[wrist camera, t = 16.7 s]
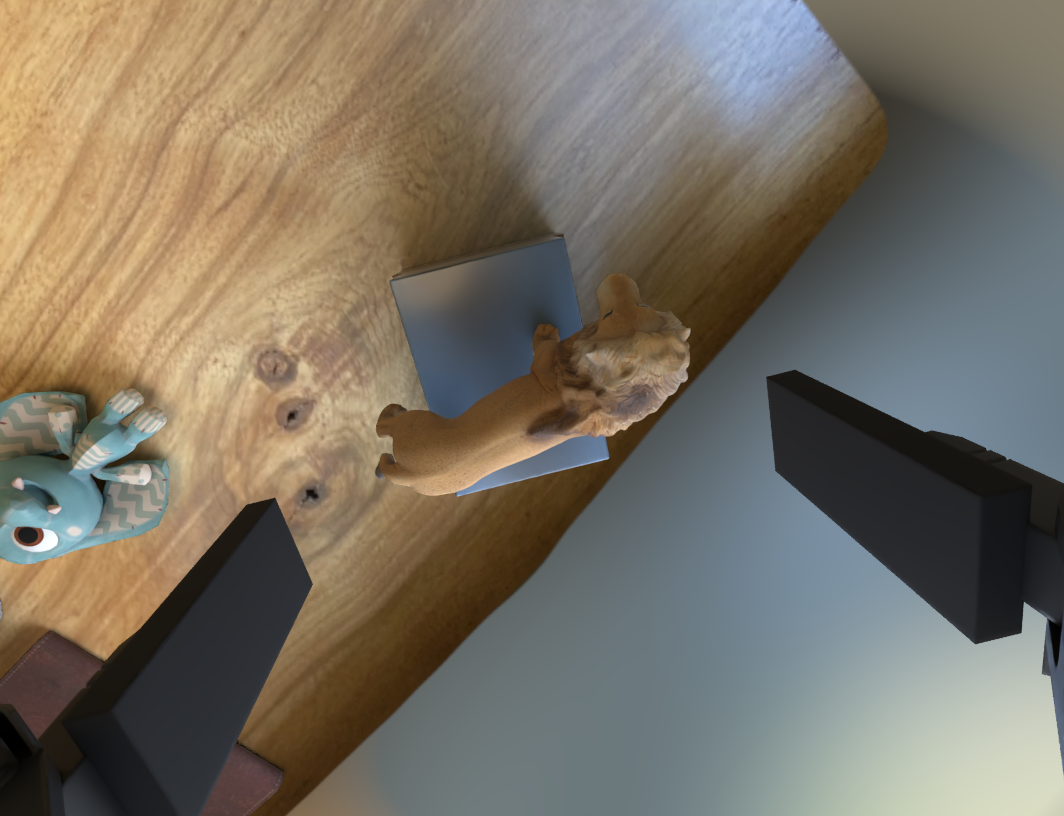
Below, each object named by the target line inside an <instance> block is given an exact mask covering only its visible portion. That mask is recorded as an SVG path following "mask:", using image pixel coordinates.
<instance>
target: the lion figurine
mask: <svg viewBox="0 0 1064 816" xmlns="http://www.w3.org/2000/svg"><path fill="white" fill-rule="evenodd" d="M597 301H598V304H599V307H600V315H599V318H598V319H597V320H596V321H595V322H591V323H590V324H588V325H586V326H585V327H584V328H583V329H581V330H580V331H577V332H576V333H574V334H573V335H571V336H569V337H568V338H566V339H565V340H562V341H560V337H559V335H558V332H559V330H558V329H557V328H554V327H553V326H552V325H551V324H540V325H538V327H537V329H536V331H535V333H534V336H533V339H532V348H533V355H534V359H533V362H532V364H531V367H530V371H531V373H530V374H527V375H524V376H521V377H519V378H516V379H514V380H512V381H510V382H508V383H507V384H505V385H503V386H502V387H500V388H498V389H497V390H495V391H493V392H492V393H490V394H488V395H486V396H485V397H483V398H481V399H480V400H478V401H477V402H476V403H474V404H473V405H472V406H471V407H470V408H469V409H468V410H466V411H465V412H464V413H463V414H461V415H460V416H458V417H456V418H452V419H449V418H445V417H442V416H440V415H438V414H436V413H434V412H431V411H424V410H411V411H407V409H405V408H403V407H402V406H401V405H399V404H390V405H388V406H387V407H385V408H384V409H383V411H382V412H381V414H380V416H379V419H378V422H377V425H376V432H377V435H378V436H379V437H380V438H385V437H392V438H393V454H394V457H395V459H396V461H397V462H396V463H395V461H394V458H393V456H392V455H391V454H388V453H384V454H382V455H381V457H380V461H379V464H378V466H377V468H376V471H375V474H376V476H377V477H378V478H379V479H382V478H383V477H385V478H387V479H388V480H389V481H391V482H393V483H395V484H398V485H406V486H410V487H411V488H412V489H414V490H415V491H417V492H419V493H421V494H425V495H441V494H447V493H454V492H458V491H461V490H463V489H466V488H468V487H470V486H472V485H473V484H474V483H476V482H477V481H478V480H480V479H482V478H483V477H485V476H487V475H489V474H490V473H492V472H494V471H497V470H499V469H501V468H504V467H506V466H509V465H512V464H514V463H517V462H519V461H522V460H524V459H527V458H530V457H532V456H535V455H537V454H539V453H541V452H543V451H545V450H547V449H549V448H551V447H553V446H555V445H557V444H560V443H562V442H564V441H566V440H567V439H569V438H573V437H578V436H585V435H589V436H590V437H592V438H596V437H598V436H612V435H614V434H615V433H616V432H617V431H618V430H620V429H621V430H626V429H627V428H628V426H630V425H631V424H632V423H633V422H635V421H640V420H641V419H643V418H644V417H645V416H647V415H648V414H649V413H653V412H655V411H657V410H658V408H659V407H660V406H661V405H662V404H663V402H664V401H665V400H666V399H667V396H669V395H672V394H674V393H675V392H676V390H677V388H678V386H679V385H680V383H681V382H685V381H686V380H687V379H688V374H687V372H686V368H687V367H688V365H689V361H690V354H689V343H688V342H687V341H685V340H686V339H687V338H688V336H689V335H690V330H691V329H690V328H686V327H684V326H682V323H681V322H680V321H679V320H678V319H677V318H676V317H675V316H674V315H673V313H672V312H671V311H668V312H659V311H654V309H653V308H652V307H650V306H648V305H645V304H644V302H643V301H642V300H641V298H640V295H639V290H638V287H637V285H636V283H635V282H634V280H632V279H631V278H629V277H628V276H627V275H625V274H623V273H613V274H610V275H608V276H607V277H606V278H605V279H604V281H603V283H601V284H600V285H599V287H598V289H597Z"/></svg>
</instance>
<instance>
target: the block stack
mask: <svg viewBox="0 0 1064 816" xmlns="http://www.w3.org/2000/svg"><path fill="white" fill-rule="evenodd" d="M392 277H393V279H392V280H390V282H389V283H390V286H391V289H392V292H393V295H394V299H395V302H396V305H397V308H398V311H399V315H400V318H401V321H402V324H403V327H404V331H405V334H406V337H407V340H408V343H409V347H410V350H411V353H412V356H413V359H414V363H415V366H416V369H417V372H418V376H419V379H420V382H421V385H422V388H423V392H424V395H425V398H426V401H427V404H428V408H429V411H431V412H434V413H436V414H438V415H440V416H442V417H445V418H449V419H452V418H456V417H458V416H460V415H461V414H463V413H464V412H465V411H466V410H468V409H469V408H470V407H471V406H472V405H473V404H474V403H476V402H477V401H478V400H480V399H481V398H483V397H485V396H486V395H488V394H490V393H492V392H493V391H495V390H497V389H498V388H500V387H502V386H503V385H505V384H507V383H508V382H510V381H512V380H514V379H516V378H519V377H521V376H524V375H527V374H530V373H531V371H530V367H531V364H532V362H533V359H534V355H533V348H532V339H533V336H534V333H535V331H536V329H537V327H538V325H540V324H551V325H552V326H553V327H554V328H557V329H558V330H559V332H558V335H559V337H560V341H562V340H565V339H566V338H568V337H569V336H571V335H573V334H574V333H576V332H577V331H580V330H581V329H583V326H582V321H581V316H580V311H579V307H578V302H577V297H576V292H575V287H574V282H573V277H572V272H571V268H570V263H569V258H568V253H567V248H566V243H565V239H564V235H563V234H561V233H549V234H545V235H541V236H537V237H533V238H529V239H525V240H521V241H517V242H513V243H509V244H505V245H501V246H497V247H493V248H489V249H485V250H481V251H477V252H473V253H468V254H464V255H460V256H456V257H452V258H448V259H444V260H440V261H436V262H432V263H428V264H424V265H420V266H416V267H412V268H408V269H404V270H403V271H401V272H399V273H397V274H395V275H393V276H392ZM608 458H609V452H608V448H607V443H606V438H605V436H598V437H596V438H592V437H590V436H589V435H585V436H578V437H573V438H569V439H567V440H566V441H564V442H562V443H560V444H557V445H555V446H553V447H551V448H549V449H547V450H545V451H543V452H541V453H539V454H537V455H535V456H532V457H530V458H527V459H524V460H522V461H519V462H517V463H514V464H512V465H509V466H506V467H504V468H501V469H499V470H497V471H494V472H492V473H490V474H489V475H487V476H485V477H483V478H482V479H480V480H478V481H477V482H476V483H474V484H473V485H472V486H470V487H468V488H466V489H463V490H461V491H458V492H455V494H456V496H460V495H464V494H468V493H472V492H476V491H480V490H484V489H488V488H492V487H496V486H500V485H504V484H508V483H512V482H517V481H521V480H525V479H529V478H533V477H537V476H541V475H545V474H549V473H553V472H557V471H561V470H565V469H569V468H573V467H577V466H581V465H585V464H589V463H593V462H597V461H601V460H605V459H608Z"/></svg>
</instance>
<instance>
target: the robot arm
mask: <svg viewBox="0 0 1064 816" xmlns="http://www.w3.org/2000/svg"><path fill="white" fill-rule="evenodd" d="M766 378H767V389H768V398H769V409H770V419H771V429H772V439H773V450H774V460H775V471H776V472H777V473H779V474H780V475H781V476H782V477H783V478H784V479H785V480H787V481H788V482H789V483H790V484H791V485H792V486H794V487H795V488H796V489H798V491H799V492H800V493H802V494H803V495H804V496H805V497H806V498H807V499H809V500H810V501H811V502H812V503H813V504H814V505H815V506H817V507H818V508H819V509H820V510H821V511H822V512H824V513H825V514H826V515H827V516H828V517H829V518H831V519H832V520H833V521H834V522H835V523H836V524H837V525H839V526H840V527H841V528H842V529H843V530H844V531H846V532H847V533H848V534H849V535H850V536H851V537H852V538H853V539H855V540H856V541H857V542H858V543H859V544H860V545H862V546H863V547H864V548H865V549H866V550H867V551H868V552H870V553H871V554H872V555H873V556H874V557H875V558H877V559H878V560H879V561H880V562H881V563H882V564H883V565H885V566H886V567H887V568H888V569H889V570H890V571H891V572H893V573H894V574H895V575H896V576H897V577H898V578H900V579H901V580H902V581H903V582H904V583H906V585H908V586H909V587H910V588H911V589H912V590H914V591H915V592H916V593H917V594H918V595H919V596H920V597H922V598H923V599H924V600H925V601H926V602H927V603H928V604H930V605H931V606H932V607H933V608H934V609H935V610H936V611H938V612H939V613H940V614H941V615H942V616H943V617H944V618H946V619H947V620H948V621H949V622H950V623H952V624H953V625H954V626H955V627H956V628H957V629H958V630H959V631H961V632H962V633H963V634H964V635H965V636H966V637H968V638H969V639H970V640H971V641H972V642H973V643H974V644H978V643H982V642H987V641H991V640H995V639H999V638H1003V637H1007V636H1011V635H1015V634H1019V633H1021V631H1022V619H1023V605H1024V602H1025V603H1027V604H1028V605H1030V606H1031V607H1032V608H1034V609H1035V610H1037V611H1038V612H1039V613H1041V614H1042V615H1044V616H1045V617H1046V618H1047V625H1046V635H1045V646H1044V657H1043V667H1042V674H1044V675H1048V676H1051V683H1052V690H1053V697H1054V705H1055V713H1056V721H1057V728H1058V735H1059V743H1060V750H1061V757H1062V766H1063V773H1064V483H1062V482H1059V481H1057V480H1055V479H1053V478H1051V477H1048V476H1046V475H1044V474H1042V473H1040V472H1037V471H1035V470H1033V469H1031V468H1028V467H1026V466H1024V465H1022V464H1019V463H1018V462H1015V461H1013V460H1011V459H1009V460H1006V457H1004V456H1002V455H1000V454H998V453H996V452H993V451H991V450H989V451H987V450H986V448H985V447H982V446H980V445H978V444H976V443H974V442H971V441H969V440H967V439H965V438H963V437H959V436H954V435H949V434H945V433H941V432H936V431H929V432H923V431H921V430H919V429H917V428H915V427H912V426H911V425H909V424H906V423H904V422H902V421H900V420H898V419H896V418H894V417H892V416H890V415H888V414H886V413H884V412H881V411H879V410H877V409H875V408H873V407H871V406H869V405H867V404H865V403H863V402H861V401H859V400H857V399H855V398H853V397H850V396H848V395H846V394H844V393H842V392H840V391H838V390H836V389H834V388H832V387H830V386H828V385H826V384H823V383H821V382H819V381H817V380H815V379H813V378H811V377H809V376H807V375H805V374H803V373H801V372H799V371H797V370H792V371H788V372H784V373H780V374H776V375H773V376H768V377H766ZM312 585H313V583H312V581H311V579H310V577H309V574H308V572H307V570H306V567H305V565H304V563H303V560H302V558H301V556H300V554H299V551H298V549H297V547H296V544H295V542H294V540H293V538H292V535H291V533H290V531H289V528H288V526H287V524H286V522H285V519H284V517H283V515H282V512H281V510H280V508H279V505H278V503H277V501H276V499H275V498H272V499H268V500H264V501H260V502H256V503H252V504H248V505H246V506H245V507H244V508H243V510H242V511H241V512H240V513H239V514H238V515H237V517H236V518H235V519H234V520H233V521H232V522H231V524H230V525H229V526H228V527H227V528H226V529H225V531H224V532H223V533H222V534H221V535H220V536H219V538H218V539H217V540H216V541H215V542H214V543H213V545H212V546H211V547H210V548H209V549H208V550H207V552H206V553H205V554H204V555H203V556H202V557H201V558H200V560H199V561H198V562H197V563H196V564H195V565H194V567H193V568H192V569H191V570H190V571H189V572H188V574H187V575H186V576H185V577H184V578H183V579H182V581H181V582H180V583H179V584H178V585H177V586H176V588H175V589H174V590H173V591H172V592H171V593H170V595H169V596H168V597H167V598H166V599H165V600H164V602H163V603H162V604H161V605H160V606H159V607H158V609H157V610H156V611H155V612H154V613H153V614H152V616H151V617H150V618H149V619H148V620H147V621H146V623H145V624H144V625H143V626H142V627H141V628H140V629H139V630H138V631H137V632H136V633H134V634H133V635H132V636H131V637H129V638H128V639H127V640H126V641H124V642H123V643H122V644H121V645H119V647H118V648H117V649H116V650H115V651H114V652H113V653H112V655H111V656H110V657H109V658H108V659H107V660H106V661H105V663H104V664H103V665H102V666H101V670H98V671H97V672H96V673H95V674H94V675H93V676H92V677H91V679H90V680H89V681H88V682H87V683H86V688H82V689H81V690H80V691H79V692H78V693H77V695H76V696H75V697H74V698H73V699H72V700H71V701H70V703H69V704H68V705H67V706H66V707H65V708H64V709H63V711H62V712H61V713H60V714H59V715H58V716H57V718H56V719H55V720H54V721H53V722H52V723H51V724H50V726H49V727H48V728H47V729H46V730H45V731H44V732H43V734H42V735H41V736H40V737H39V738H38V739H37V738H36V737H35V736H34V734H33V733H32V731H31V730H30V728H29V727H28V726H27V724H26V723H25V721H24V720H23V719H22V717H21V716H20V714H19V713H18V712H17V710H16V709H15V708H14V706H13V705H12V704H0V816H200V815H201V813H202V811H203V809H204V807H205V805H206V803H207V801H208V799H209V796H210V794H211V792H212V790H213V788H214V786H215V784H216V782H217V780H218V778H219V776H220V774H221V772H222V770H223V768H224V766H225V764H226V762H227V760H228V757H229V755H230V753H231V751H232V749H233V747H234V745H235V743H236V741H237V739H238V737H239V735H240V733H241V731H242V729H243V727H244V725H245V723H246V720H247V718H248V716H249V714H250V712H251V710H252V708H253V706H254V704H255V702H256V700H257V698H258V696H259V694H260V692H261V690H262V688H263V686H264V684H265V681H266V679H267V677H268V675H269V673H270V671H271V669H272V667H273V665H274V663H275V661H276V659H277V657H278V655H279V653H280V651H281V649H282V647H283V644H284V642H285V640H286V638H287V636H288V634H289V632H290V630H291V628H292V626H293V624H294V622H295V620H296V618H297V616H298V614H299V612H300V610H301V608H302V605H303V603H304V601H305V599H306V597H307V595H308V593H309V591H310V589H311V587H312Z"/></svg>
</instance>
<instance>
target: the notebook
mask: <svg viewBox="0 0 1064 816" xmlns="http://www.w3.org/2000/svg"><path fill="white" fill-rule="evenodd" d="M103 664H104V663H103V662H102V661H100V660H98V659H97V658H95V657H93V656H92V655H90V654H88V653H87V652H85V651H84V650H82V649H80V648H79V647H77V646H75V645H74V644H72V643H70V642H69V641H67V640H65V639H64V638H62V637H60V636H59V635H57V634H55V633H54V632H52V631H51V630H50V631H48V632H47V633H46V634H45V635H44V636H43V637H42V638H41V639H39V640H38V641H37V642H36V643H35V644H34V645H33V646H32V647H31V648H30V649H29V650H28V651H27V652H26V653H25V654H24V656H23V657H22V658H21V659H20V660H19V661H18V662H17V663H16V664H15V665H14V666H13V667H12V668H11V669H10V670H9V671H8V672H7V673H6V674H5V675H4V676H3V677H2V678H1V680H0V704H12V705H13V706H14V708H15V709H16V710H17V712H18V713H19V714H20V716H21V717H22V719H23V720H24V721H25V723H26V724H27V726H28V727H29V728H30V730H31V731H32V733H33V734H34V736H35V737H36V738H37V739H38V738H39V737H40V736H41V735H42V734H43V732H44V731H45V730H46V729H47V728H48V727H49V726H50V724H51V723H52V722H53V721H54V720H55V719H56V718H57V716H58V715H59V714H60V713H61V712H62V711H63V709H64V708H65V707H66V706H67V705H68V704H69V703H70V701H71V700H72V699H73V698H74V697H75V696H76V695H77V693H78V692H79V691H80V690H81V689H82V688H86V683H87V682H88V681H89V680H90V679H91V677H92V676H93V675H94V674H95V673H96V672H97V671H98V670H101V666H102V665H103ZM283 778H284V772H283V771H282V770H280V769H278V768H277V767H275V766H273V765H272V764H270V763H268V762H267V761H265V760H263V759H262V758H260V757H258V756H257V755H255V754H253V753H252V752H250V751H249V750H247V749H245V748H244V747H242V746H240V745H239V744H237V743H235V745H234V747H233V749H232V751H231V753H230V755H229V757H228V760H227V762H226V764H225V766H224V768H223V770H222V772H221V774H220V776H219V778H218V780H217V782H216V784H215V786H214V788H213V790H212V792H211V794H210V796H209V799H208V801H207V803H206V805H205V807H204V809H203V811H202V813H201V815H200V816H249V815H250V814H251V813H252V812H254V811H255V810H256V809H257V808H258V807H259V806H260V805H262V804H263V803H264V802H265V801H266V800H267V799H268V798H270V797H271V796H272V795H273V794H274V793H275V792H276V791H277V790H278V788H279V787H280V785H281V783H282V780H283Z"/></svg>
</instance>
